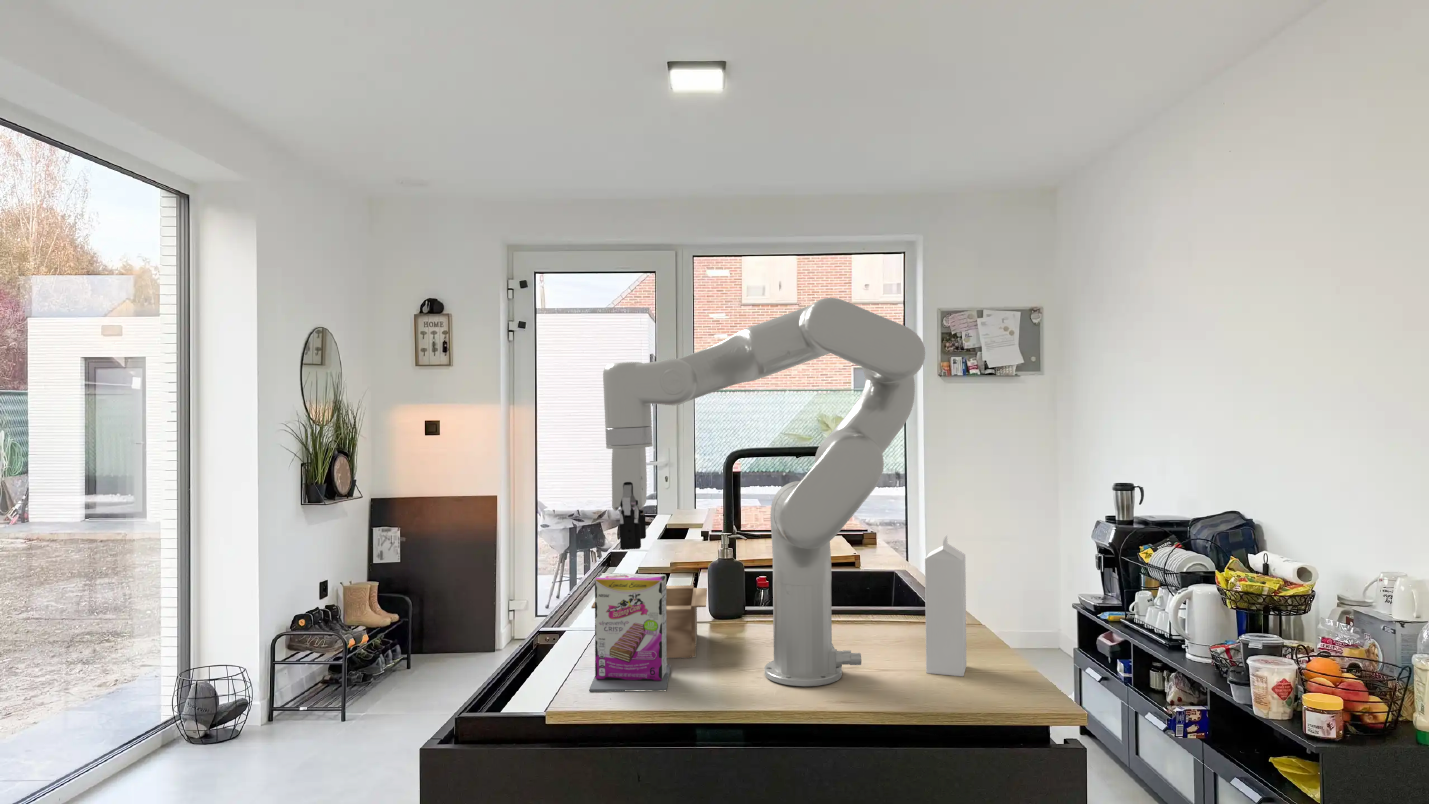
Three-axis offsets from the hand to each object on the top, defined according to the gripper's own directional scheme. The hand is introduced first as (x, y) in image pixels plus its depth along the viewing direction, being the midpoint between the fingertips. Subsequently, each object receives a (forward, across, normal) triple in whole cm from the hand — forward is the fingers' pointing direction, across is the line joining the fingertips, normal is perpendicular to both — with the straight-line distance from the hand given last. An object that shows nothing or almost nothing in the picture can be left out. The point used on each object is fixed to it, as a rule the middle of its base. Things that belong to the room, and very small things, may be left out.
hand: (633, 543), depth 143 cm
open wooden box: (+22, -19, +1) cm, 29 cm away
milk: (+24, -3, +51) cm, 56 cm away
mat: (+22, 0, -1) cm, 22 cm away
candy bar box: (+22, 0, -1) cm, 22 cm away
